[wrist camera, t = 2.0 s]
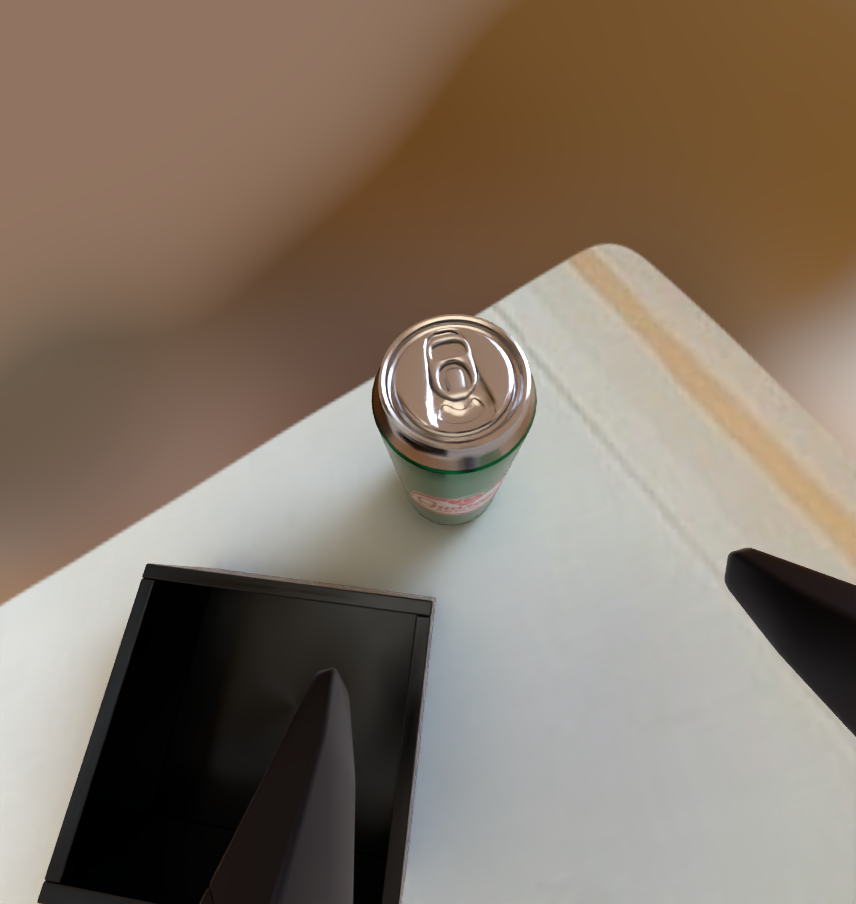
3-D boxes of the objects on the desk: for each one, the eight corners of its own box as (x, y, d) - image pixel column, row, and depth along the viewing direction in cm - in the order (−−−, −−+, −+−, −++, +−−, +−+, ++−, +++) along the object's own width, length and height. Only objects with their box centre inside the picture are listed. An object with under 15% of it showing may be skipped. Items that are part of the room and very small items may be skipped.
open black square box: (405, 871, 18) (391, 977, 13) (141, 822, 18) (35, 903, 14) (435, 597, 21) (432, 601, 16) (211, 568, 22) (145, 563, 17)
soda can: (415, 535, 22) (381, 481, 11) (397, 449, 24) (352, 321, 12) (506, 515, 22) (570, 440, 11) (482, 430, 24) (516, 287, 12)
